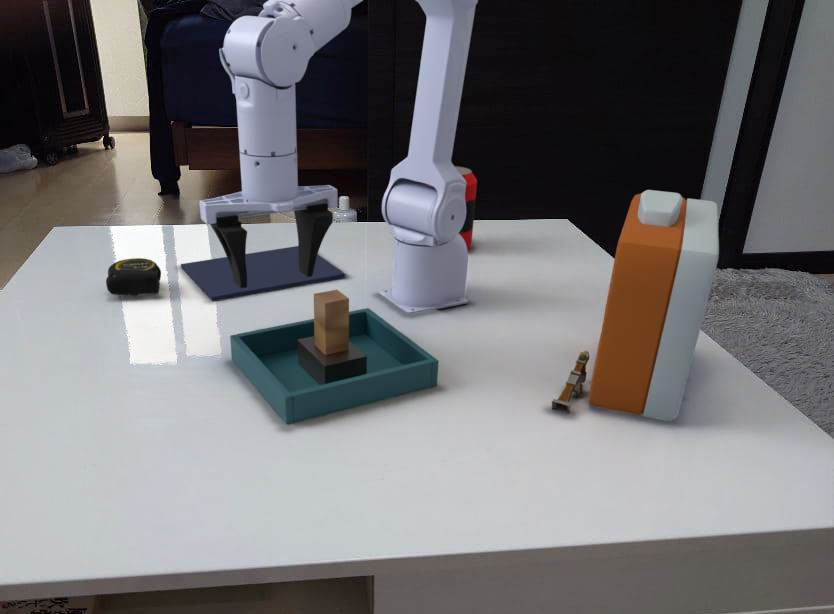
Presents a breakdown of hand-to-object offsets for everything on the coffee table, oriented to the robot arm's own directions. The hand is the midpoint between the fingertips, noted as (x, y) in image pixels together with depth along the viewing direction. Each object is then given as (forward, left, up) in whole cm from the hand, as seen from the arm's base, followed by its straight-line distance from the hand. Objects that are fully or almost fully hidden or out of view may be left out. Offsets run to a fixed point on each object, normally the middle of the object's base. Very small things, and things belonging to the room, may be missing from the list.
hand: (274, 279), depth 84 cm
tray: (-4, +7, -10) cm, 12 cm away
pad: (-9, -26, -10) cm, 30 cm away
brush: (-4, +7, -9) cm, 12 cm away
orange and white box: (-34, +23, -10) cm, 42 cm away
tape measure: (+9, -26, -10) cm, 30 cm away
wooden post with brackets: (-24, +23, -10) cm, 34 cm away
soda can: (-40, -24, -10) cm, 48 cm away
